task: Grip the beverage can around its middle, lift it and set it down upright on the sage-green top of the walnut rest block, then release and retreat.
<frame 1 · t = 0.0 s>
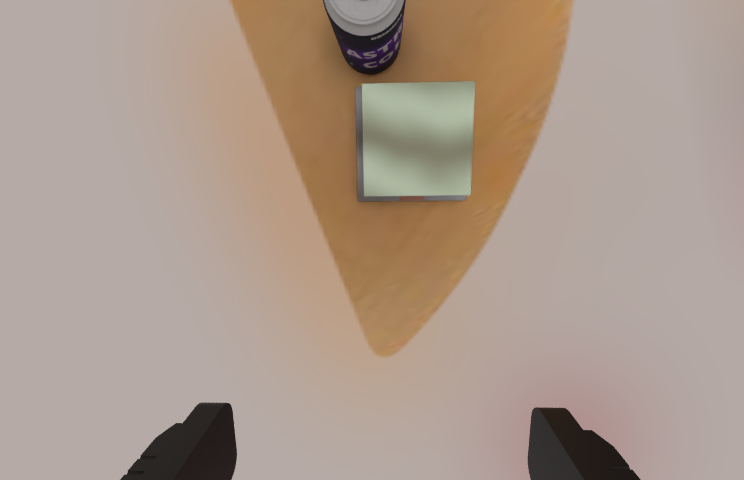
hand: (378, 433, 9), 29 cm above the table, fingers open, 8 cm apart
beverage can: (370, 45, 35), on the table
rest block: (411, 145, 36), on the table
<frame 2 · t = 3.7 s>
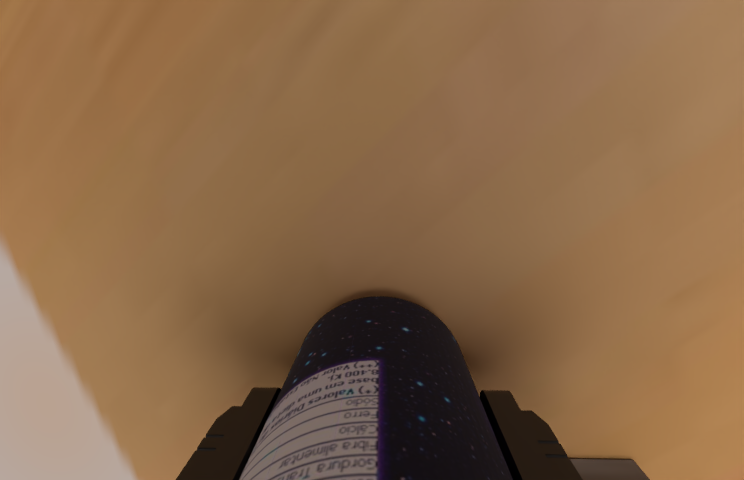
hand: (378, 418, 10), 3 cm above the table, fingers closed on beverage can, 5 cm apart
beverage can: (380, 357, 13), on the table, touching gripper
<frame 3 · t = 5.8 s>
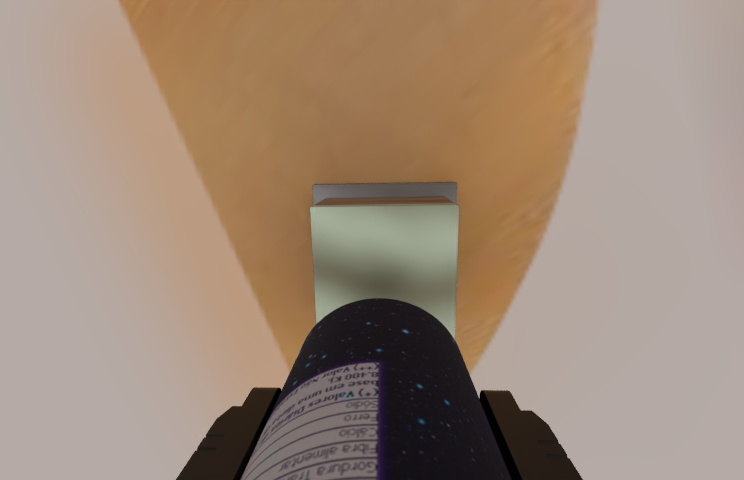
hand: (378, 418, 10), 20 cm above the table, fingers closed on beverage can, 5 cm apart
beverage can: (380, 359, 13), point 16 cm above the table, touching gripper
rest block: (384, 250, 29), on the table
when the fingers open (11 cm above the table, at t = 8.2 s): beverage can drops 1 cm, resting on rest block.
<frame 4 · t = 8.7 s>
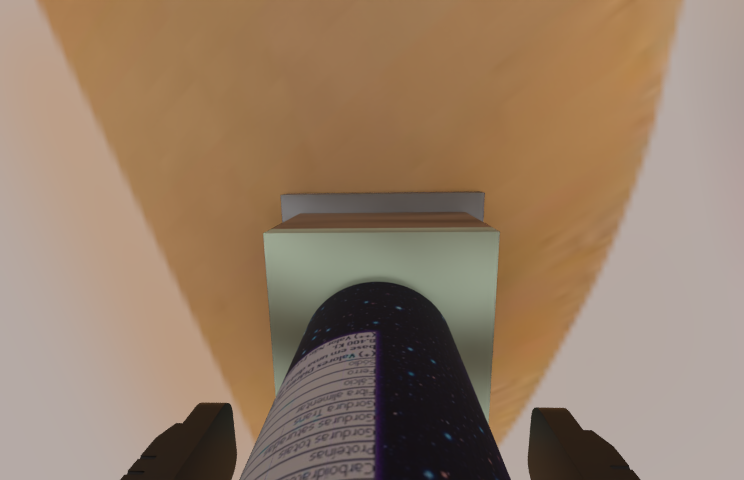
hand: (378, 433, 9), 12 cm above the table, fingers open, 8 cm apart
beverage can: (378, 338, 15), point 7 cm above the table, touching rest block
rest block: (382, 285, 21), on the table
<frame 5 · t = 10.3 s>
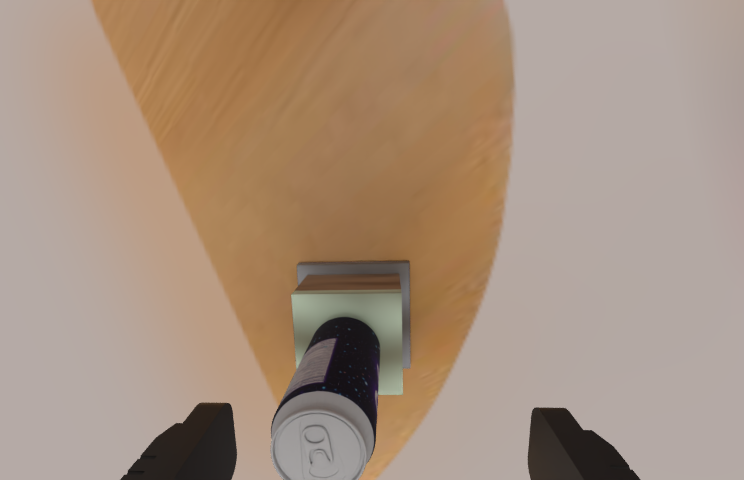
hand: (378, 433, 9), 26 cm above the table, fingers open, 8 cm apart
beverage can: (346, 343, 30), point 7 cm above the table, touching rest block
rest block: (355, 314, 37), on the table
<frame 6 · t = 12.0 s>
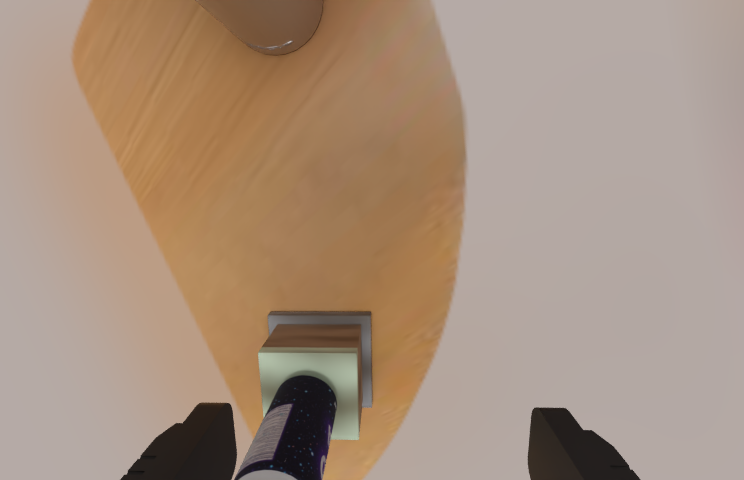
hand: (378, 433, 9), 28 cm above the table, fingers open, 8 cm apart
beverage can: (308, 395, 33), point 7 cm above the table, touching rest block
rest block: (322, 357, 40), on the table
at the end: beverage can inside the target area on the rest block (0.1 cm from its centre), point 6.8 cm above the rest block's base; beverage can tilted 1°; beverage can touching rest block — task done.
